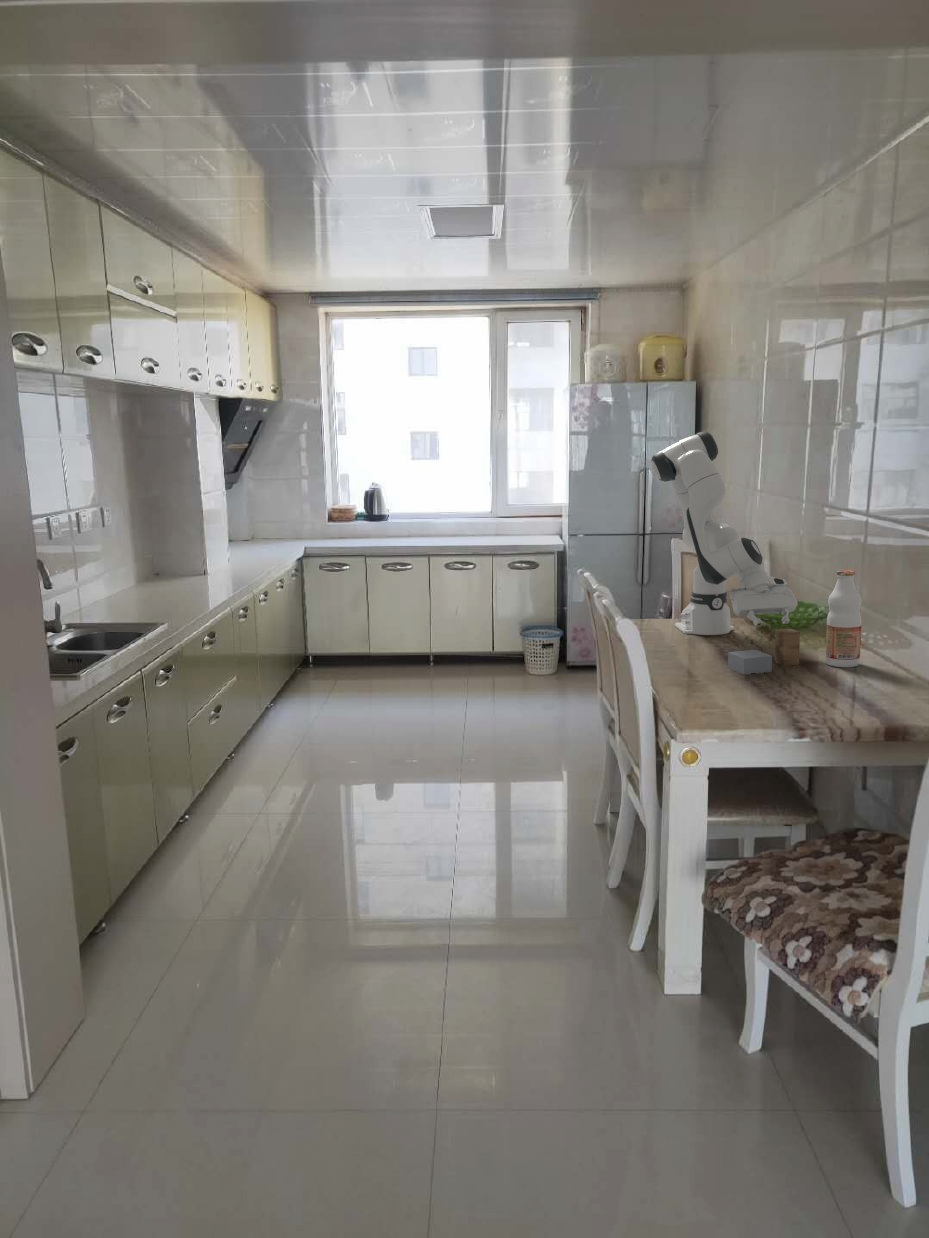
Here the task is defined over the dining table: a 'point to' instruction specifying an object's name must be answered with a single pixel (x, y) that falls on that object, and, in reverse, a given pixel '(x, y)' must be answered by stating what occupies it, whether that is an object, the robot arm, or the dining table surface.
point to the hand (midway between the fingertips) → (772, 623)
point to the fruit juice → (844, 622)
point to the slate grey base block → (750, 662)
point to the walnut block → (787, 647)
